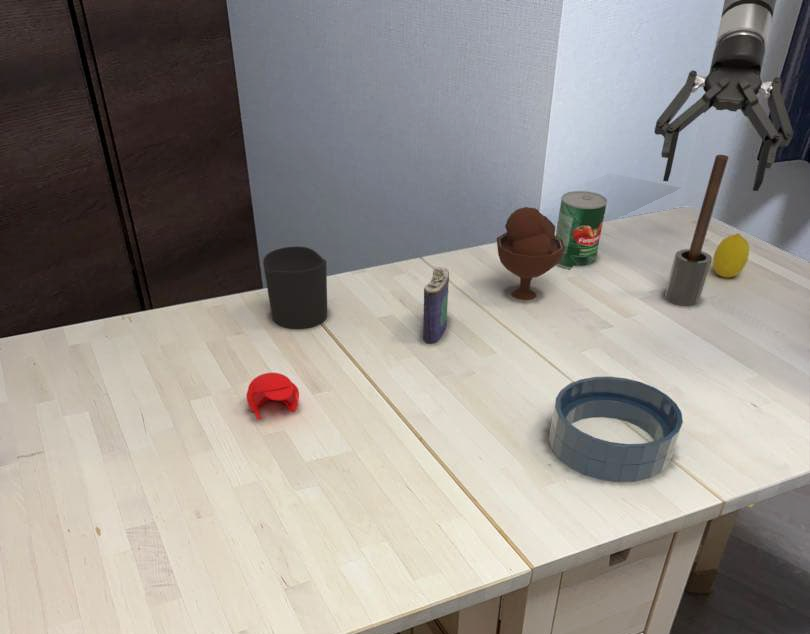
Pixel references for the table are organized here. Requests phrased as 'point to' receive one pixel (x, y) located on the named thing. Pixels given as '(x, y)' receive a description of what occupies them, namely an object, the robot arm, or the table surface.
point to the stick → (707, 207)
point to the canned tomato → (580, 227)
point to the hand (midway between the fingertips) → (711, 181)
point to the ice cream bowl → (529, 248)
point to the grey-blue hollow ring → (624, 404)
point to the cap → (272, 392)
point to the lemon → (731, 256)
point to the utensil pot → (687, 278)
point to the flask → (435, 305)
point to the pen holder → (296, 287)
